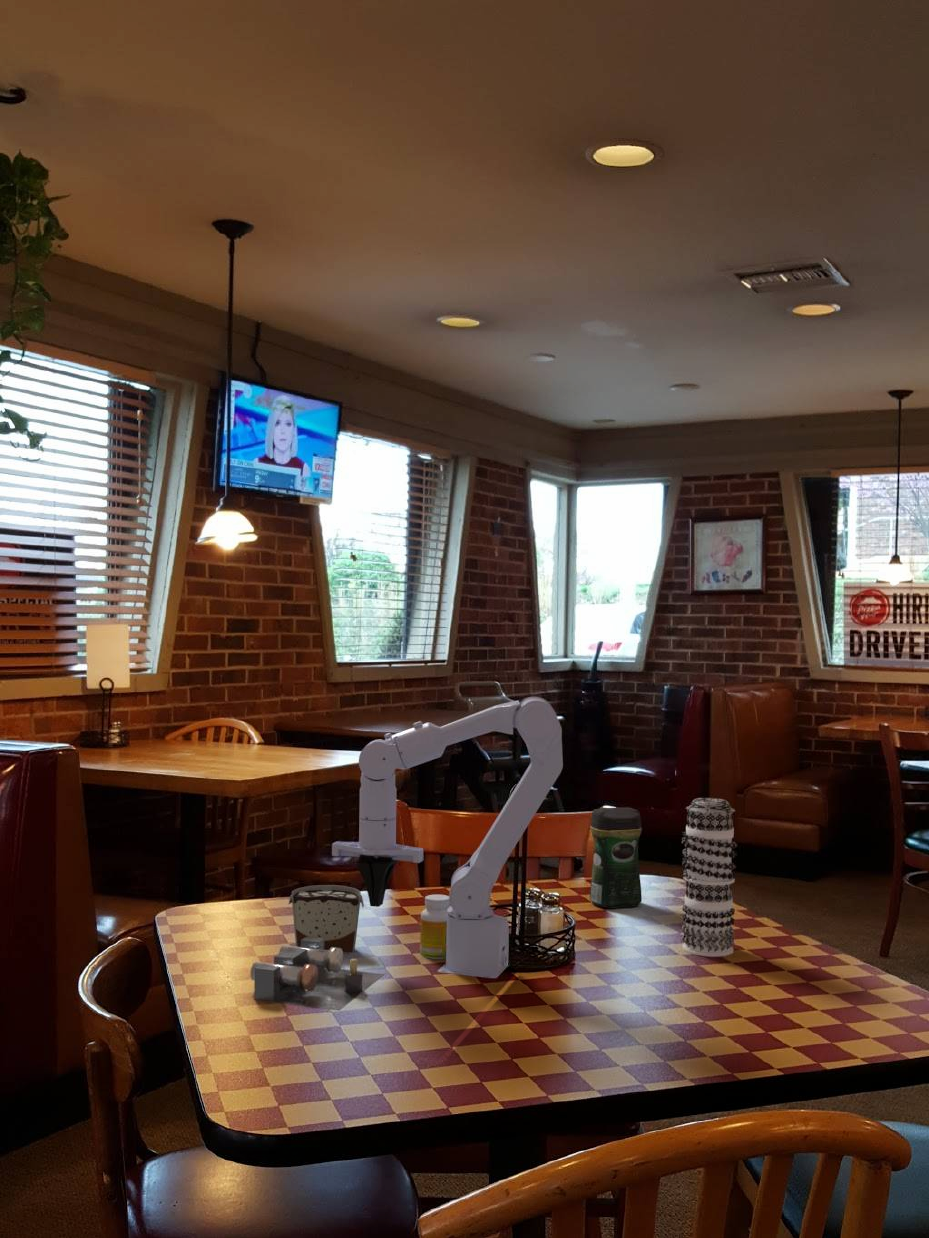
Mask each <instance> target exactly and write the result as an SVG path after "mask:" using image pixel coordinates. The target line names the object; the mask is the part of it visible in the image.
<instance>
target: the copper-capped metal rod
mask: <svg viewBox="0 0 929 1238" xmlns="http://www.w3.org/2000/svg"><path fill="white" fill-rule="evenodd" d="M261 964H265V965H273V966H280V984H287V985H295V986H300V987H301V989H302V990H306V991H313V990H314V989H315V987H316V984H317V981H318V968H317V966H316V965H311V964H305V965H304V967H297V966H288V965H279V964H274V963H271V962H270V963H269V962H261V961H260V962H259V961H254V963H252V965H251V967H250V968H251V969H250V978H251V980H252V981H254V982H255V968H256V967H257V966H259V965H261Z"/></svg>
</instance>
